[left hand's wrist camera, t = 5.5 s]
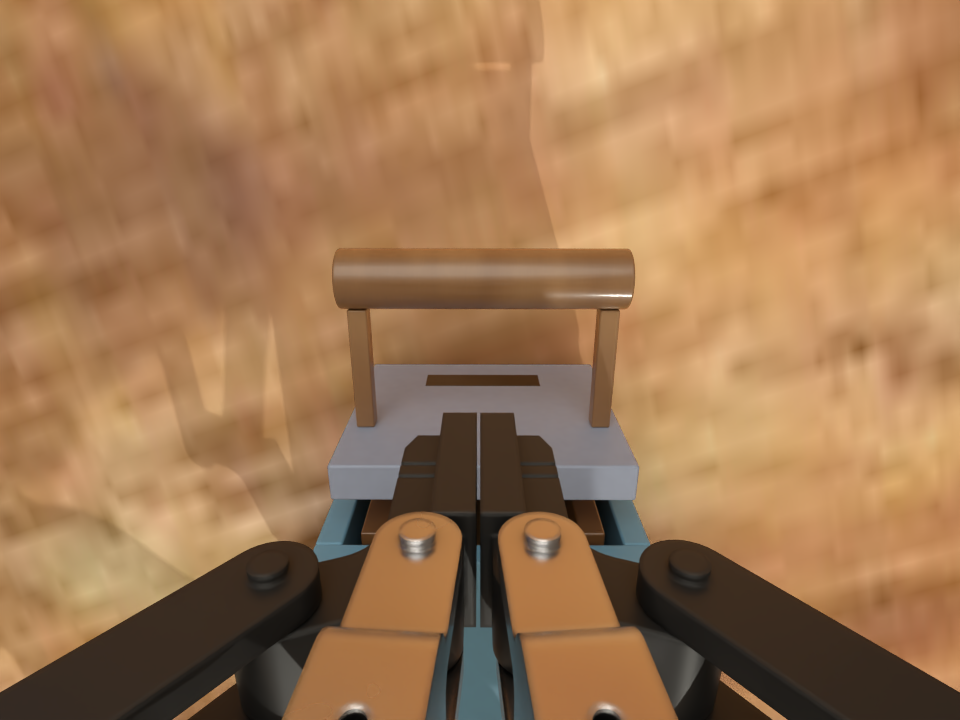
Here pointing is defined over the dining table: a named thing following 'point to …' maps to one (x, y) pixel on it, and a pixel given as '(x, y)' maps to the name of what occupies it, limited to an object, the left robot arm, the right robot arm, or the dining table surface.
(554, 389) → the drawer
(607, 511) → the cabinet
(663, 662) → the left robot arm
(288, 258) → the dining table surface
